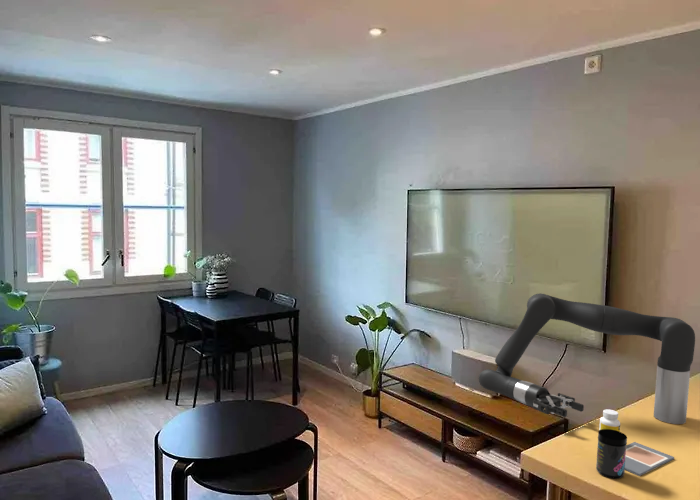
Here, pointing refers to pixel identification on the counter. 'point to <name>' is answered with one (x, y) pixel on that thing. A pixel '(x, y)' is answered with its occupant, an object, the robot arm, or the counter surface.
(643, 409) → the counter surface
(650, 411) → the counter surface
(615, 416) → the supplement bottle
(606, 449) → the supplement container
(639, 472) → the picture board
